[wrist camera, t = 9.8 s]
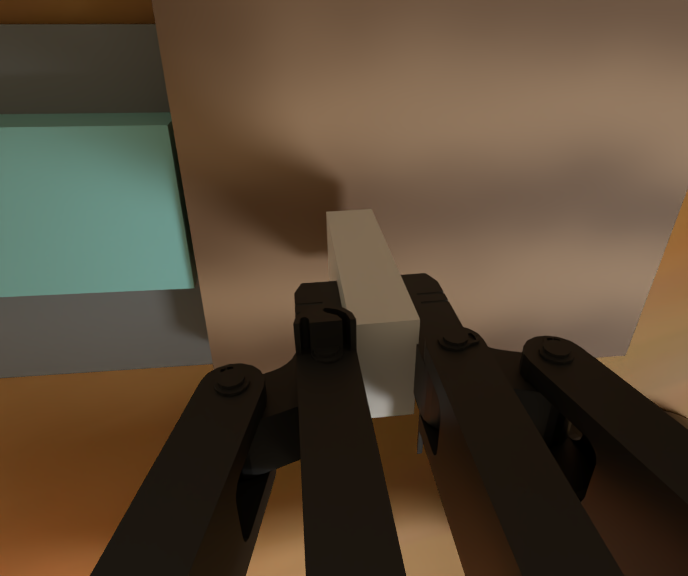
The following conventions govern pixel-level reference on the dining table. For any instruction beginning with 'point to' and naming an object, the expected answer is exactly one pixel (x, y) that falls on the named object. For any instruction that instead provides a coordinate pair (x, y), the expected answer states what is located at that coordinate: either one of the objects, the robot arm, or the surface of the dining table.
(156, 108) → the mat
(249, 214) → the brown flat block
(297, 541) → the dining table surface
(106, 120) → the card
